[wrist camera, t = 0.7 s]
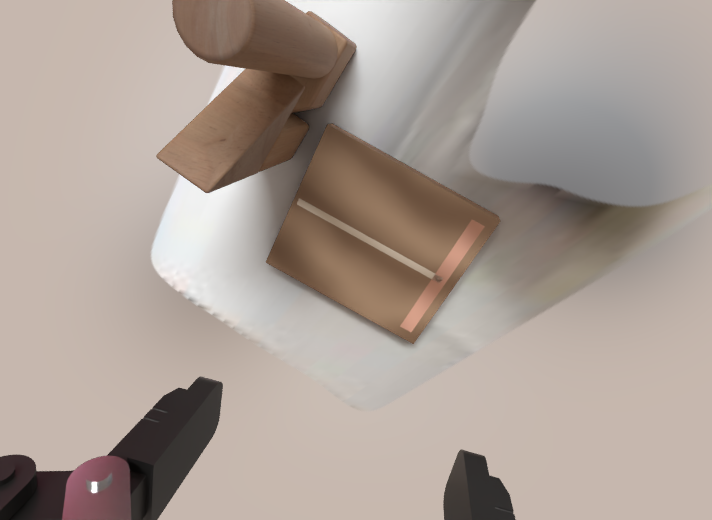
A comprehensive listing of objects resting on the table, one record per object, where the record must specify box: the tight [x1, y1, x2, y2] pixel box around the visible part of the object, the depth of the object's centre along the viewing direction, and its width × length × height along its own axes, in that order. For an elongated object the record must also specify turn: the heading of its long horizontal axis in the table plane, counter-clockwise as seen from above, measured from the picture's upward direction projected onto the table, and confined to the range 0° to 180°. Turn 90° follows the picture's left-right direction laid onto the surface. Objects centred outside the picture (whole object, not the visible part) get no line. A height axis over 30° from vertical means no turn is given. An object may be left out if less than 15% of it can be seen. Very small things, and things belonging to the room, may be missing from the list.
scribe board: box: [266, 123, 500, 344], centre depth 36 cm, size 14×16×2 cm
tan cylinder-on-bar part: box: [157, 0, 356, 193], centre depth 25 cm, size 4×11×18 cm, turn 146°
